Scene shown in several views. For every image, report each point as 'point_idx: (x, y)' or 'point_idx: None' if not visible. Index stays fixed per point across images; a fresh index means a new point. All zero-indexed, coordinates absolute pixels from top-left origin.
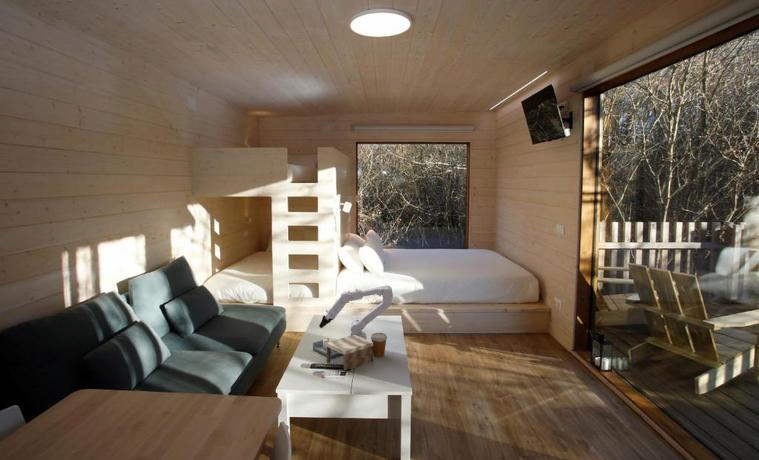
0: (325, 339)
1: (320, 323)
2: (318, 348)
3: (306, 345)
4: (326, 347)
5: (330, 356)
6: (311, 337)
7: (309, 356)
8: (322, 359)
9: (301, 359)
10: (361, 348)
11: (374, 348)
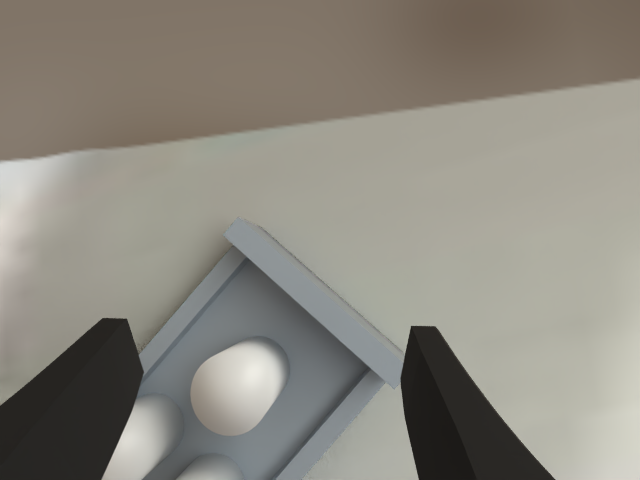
0: (257, 379)
1: (37, 379)
2: (198, 300)
3: (358, 134)
4: None
5: None
6: (604, 114)
7: (99, 242)
8: None
9: (33, 192)
10: None
11: None
